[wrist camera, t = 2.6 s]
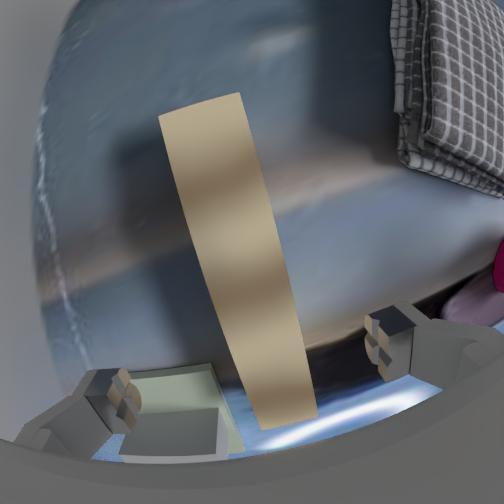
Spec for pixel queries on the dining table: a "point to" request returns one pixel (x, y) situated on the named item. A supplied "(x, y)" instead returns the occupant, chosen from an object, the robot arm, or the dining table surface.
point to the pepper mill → (499, 269)
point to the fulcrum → (181, 418)
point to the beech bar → (241, 255)
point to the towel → (450, 89)
